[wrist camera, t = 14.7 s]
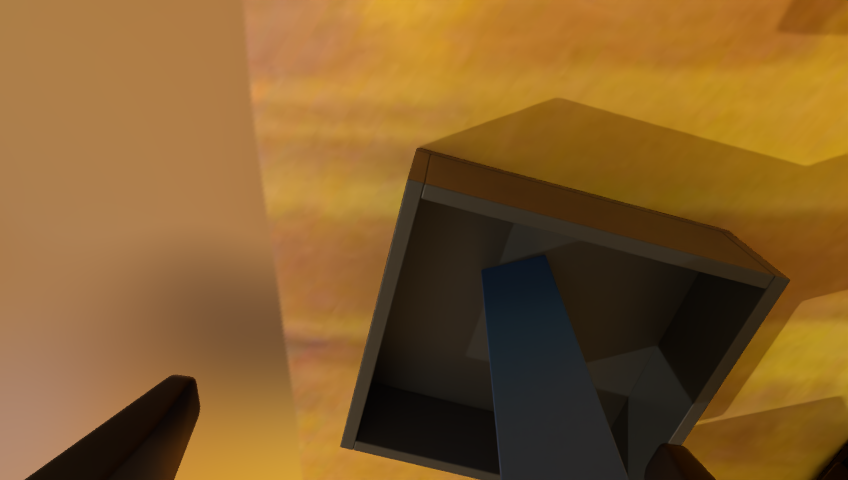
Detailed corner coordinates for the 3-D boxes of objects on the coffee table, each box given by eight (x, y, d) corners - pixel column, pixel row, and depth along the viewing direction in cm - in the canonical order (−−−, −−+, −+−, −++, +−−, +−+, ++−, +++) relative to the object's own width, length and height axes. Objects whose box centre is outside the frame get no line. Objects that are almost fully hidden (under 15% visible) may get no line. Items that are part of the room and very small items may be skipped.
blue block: (545, 254, 22) (638, 504, 11) (570, 366, 25) (667, 665, 13) (480, 269, 23) (504, 522, 11) (511, 378, 25) (556, 675, 14)
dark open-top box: (728, 230, 22) (791, 279, 18) (608, 441, 27) (635, 516, 23) (417, 147, 21) (407, 178, 17) (357, 380, 27) (339, 447, 22)
